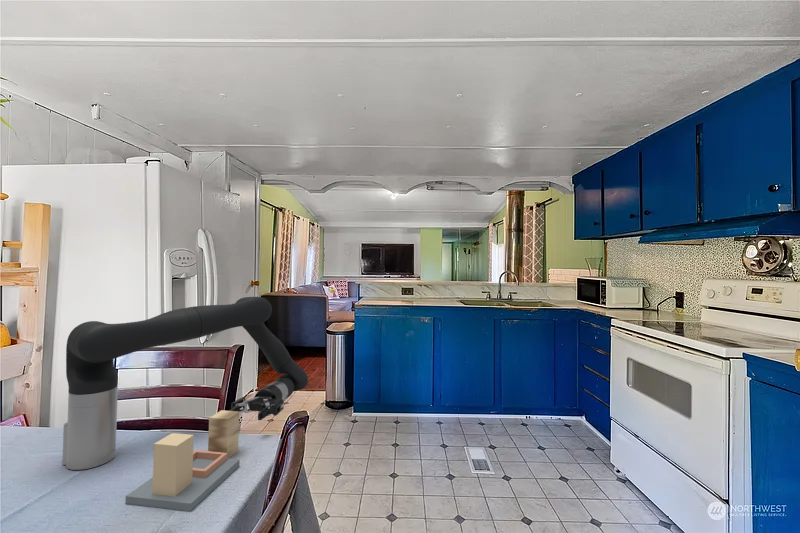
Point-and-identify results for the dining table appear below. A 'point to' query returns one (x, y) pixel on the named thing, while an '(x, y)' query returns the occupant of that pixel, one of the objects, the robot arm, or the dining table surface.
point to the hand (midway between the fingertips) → (244, 415)
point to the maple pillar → (224, 432)
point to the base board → (186, 494)
